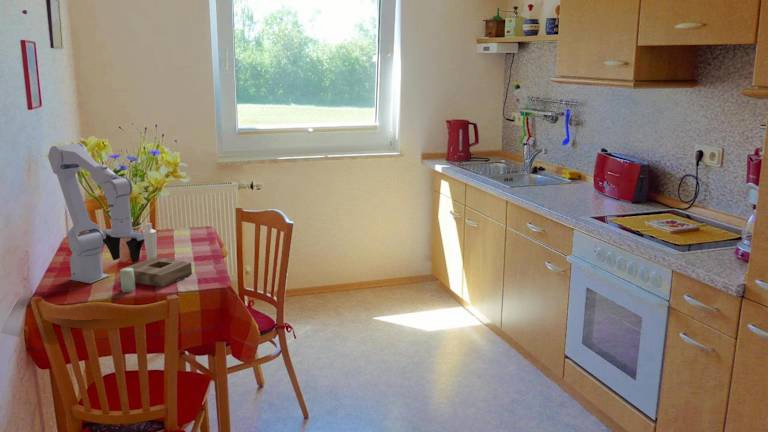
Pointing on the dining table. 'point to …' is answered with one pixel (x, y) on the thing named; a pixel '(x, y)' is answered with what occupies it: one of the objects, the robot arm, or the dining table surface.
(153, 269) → the socket board
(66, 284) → the dining table surface
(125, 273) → the pale green block
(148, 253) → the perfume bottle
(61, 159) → the robot arm
